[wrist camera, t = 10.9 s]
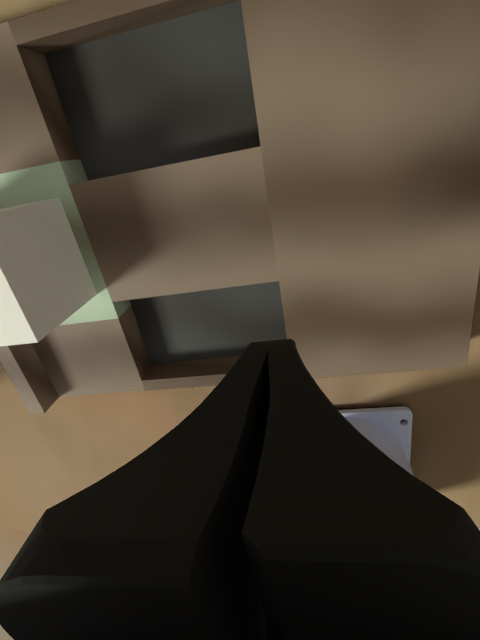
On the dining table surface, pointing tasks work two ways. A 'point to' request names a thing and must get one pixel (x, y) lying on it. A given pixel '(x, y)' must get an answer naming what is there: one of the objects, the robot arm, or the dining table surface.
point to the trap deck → (248, 184)
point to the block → (39, 272)
